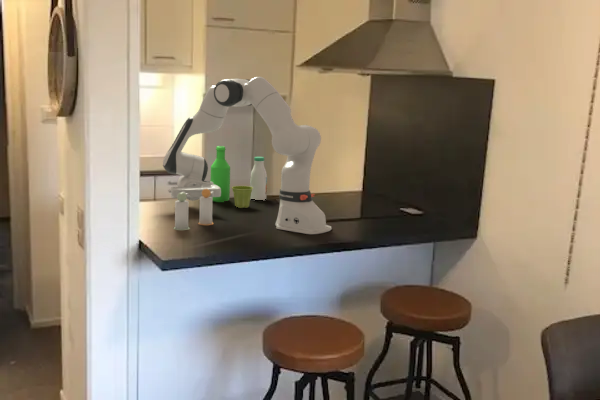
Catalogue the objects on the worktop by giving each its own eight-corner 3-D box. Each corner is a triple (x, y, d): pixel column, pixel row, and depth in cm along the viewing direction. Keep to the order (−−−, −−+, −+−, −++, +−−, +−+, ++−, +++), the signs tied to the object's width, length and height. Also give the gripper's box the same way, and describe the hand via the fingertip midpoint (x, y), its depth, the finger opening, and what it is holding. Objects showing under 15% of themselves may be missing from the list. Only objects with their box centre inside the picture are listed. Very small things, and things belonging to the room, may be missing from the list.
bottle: (208, 199, 298) (209, 145, 293) (227, 198, 300) (228, 145, 295) (212, 202, 289) (212, 147, 284) (231, 202, 292) (232, 147, 287)
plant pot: (227, 207, 280) (228, 188, 279) (236, 203, 289) (237, 184, 288) (247, 209, 278) (248, 190, 276) (255, 206, 286) (256, 186, 285)
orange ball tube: (214, 223, 246) (215, 189, 243) (205, 225, 242) (205, 190, 240) (206, 221, 249) (206, 187, 246) (196, 223, 245) (197, 188, 243)
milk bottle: (263, 201, 297) (265, 158, 293) (247, 200, 298) (249, 157, 295) (268, 198, 304) (269, 156, 301) (252, 197, 306) (253, 155, 302)
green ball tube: (190, 228, 237) (191, 192, 234) (180, 230, 233) (181, 194, 231) (182, 226, 240) (182, 190, 237) (172, 227, 236) (172, 192, 234)
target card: (222, 226, 246) (222, 224, 246) (182, 234, 231) (182, 232, 230) (204, 221, 252) (204, 219, 252) (164, 229, 237) (164, 227, 237)
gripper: (167, 182, 264) (173, 188, 251) (216, 181, 271) (224, 187, 258) (167, 197, 265) (173, 204, 252) (216, 196, 272) (224, 202, 259)
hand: (199, 195), depth 255 cm, fingers open, 8 cm apart
